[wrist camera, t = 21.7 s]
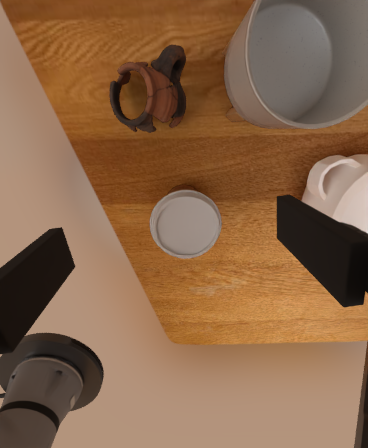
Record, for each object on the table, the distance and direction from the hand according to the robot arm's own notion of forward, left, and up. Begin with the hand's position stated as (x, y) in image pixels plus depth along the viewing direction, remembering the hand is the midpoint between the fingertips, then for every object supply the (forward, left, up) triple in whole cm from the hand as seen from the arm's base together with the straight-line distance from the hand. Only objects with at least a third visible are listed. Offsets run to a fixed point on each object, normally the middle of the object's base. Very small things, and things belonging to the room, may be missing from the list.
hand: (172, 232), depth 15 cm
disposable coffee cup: (+1, -6, -27) cm, 28 cm away
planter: (+14, +11, -27) cm, 32 cm away
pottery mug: (-1, +11, -27) cm, 29 cm away
